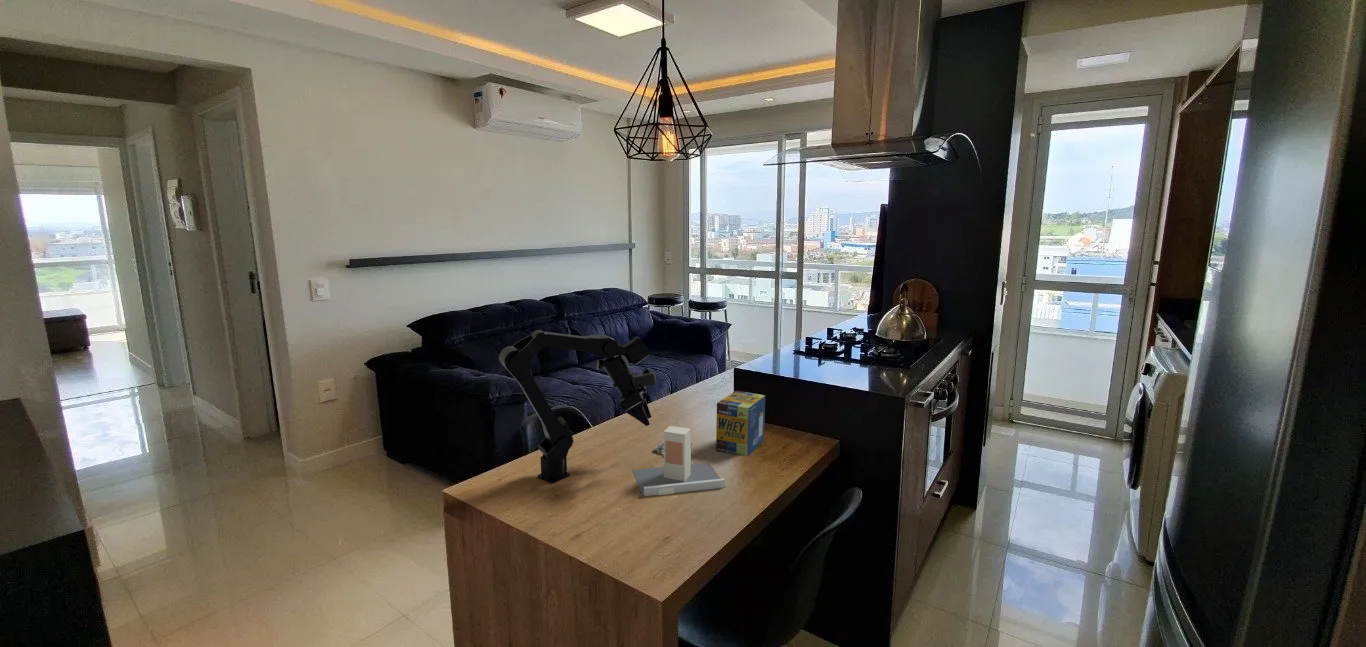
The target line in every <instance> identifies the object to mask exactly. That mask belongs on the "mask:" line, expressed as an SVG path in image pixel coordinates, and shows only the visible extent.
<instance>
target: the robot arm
mask: <svg viewBox="0 0 1366 647" xmlns="http://www.w3.org/2000/svg"><path fill="white" fill-rule="evenodd" d="M544 348H551V349H552V348H553V349H562V350H563V349H564V350H570V351H578V352H579V351H581V352H585V353H589V354H592V355H595V356H598V357H601V358H603V359H597V363H596V364H597V365H596V368H595V369H596V370H597V371H598V370H600V369H602V368H604V370H605V372H606V373H607V376H609V378H610V380H611V382H612V383H613V384H612V385H613V387H614V388H616V389H617V391H618V393H619V394H620V398H621V400H620V404H619V407H620V409H621V410H622V412H624V413H625V414H628V415H629V416H631V417H633V418H634V419H635V420H637V421H638V422H640V424H642V425H644V426H646V427H647V426H650V424H651V423H650V421H649V419H651V418H652V413H651V411H650V408H649V406H648V402H647V400H646V397H647V394H648V390H647V386H655V385H657V377H656V374H655V373H656V372H655V371H651V369H650V368H644V369H643V370H642V373H640V374H636V375H635V372H633V371H630V369H629V367H628V366H630V365H631V366H632V367H635V366H636V365H638V364H640V363H641V362H642V361H644V360H646V359H647V358H649V357H650V356H651V353H650V350H649V348H648V346H646V344H645V343H644V342H643V341H642V340H641V338H640V337H638V336H635V337H633V338H632V339H631V340H630V341H628V342H626V343H625V344H623V345H621V344H620V343H618V342H617V340H616V339H614V338H612V337H610V336H608V335H606V334H591V335H590V334H589V335H583V336H582V335H575V334H566V333H558V332H550V331H543V330H541V329H536V330H534V331H533V332H532V333H530V334H528V336H526V337H523V338H521V339H520V340H518V341H517V342H515V343H514V344H512V345H508V346H505V347H504V348H503V349H502V350H501V351H500V353H499V356H498V359H499V363H501V365H502V366H503V367H504V368H505V369H506V371H508V373H509V374H510V376H512V377H513V378H514V379H515V380H516V382H517V383H518V384H519V386H520V388H521V389H522V391H523V393H524V395H525V397H526V398H527V400H528V401H529V404H530V405H531V406H532V409H533V410H534V412H535V414H536V415H537V417H538V419H539V420H540V422H541V425H542V430H543V433H544V438H542V440H541V441H540V443H539V444H538V445H537V446H538V449H539V451H540V452H541V453H542V456H540V473H539V474H537V478H539V479H541V480H544V481H546V482H549V483H552V484H553V483H556V482H558V481H560V480H562V479H564V478H567V477H569V476H570V475H571V473H570V472H568V461H567V460H568V458H567V456H568V454H569V450H570V449H571V448H572V446H573V445H574V444H573V443H574V437H573V436H574V432H572V430H570V427H569V424H568V422H567V421H566V420H565V419H564V418H563V417H562V416H559V417H558V418H557V417H556V415H555V413H554V411H553V410H552V408H551V407H550V405H549V403H548V402H547V399H546V398H545V396H544V394H543V393H542V391H541V389H540V387H539V386H538V384H537V382H536V381H535V378H534V377H533V373H532V368H531V365H530V361H532V360H533V359H534V358H535V357H536V356H537V355H538V354H539V352H540V351H542V349H544Z"/></svg>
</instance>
